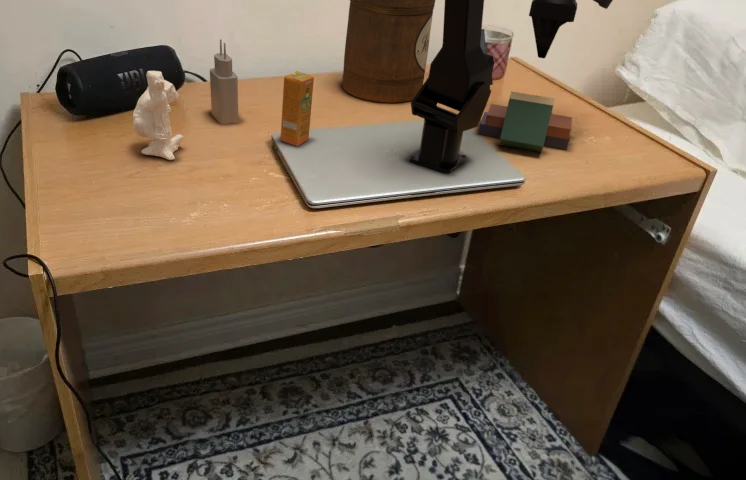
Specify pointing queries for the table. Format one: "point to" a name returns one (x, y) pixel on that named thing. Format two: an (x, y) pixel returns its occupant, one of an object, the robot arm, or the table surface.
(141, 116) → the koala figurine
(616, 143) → the table surface
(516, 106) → the tea box
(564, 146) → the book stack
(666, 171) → the table surface
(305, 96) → the supplement box
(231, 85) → the power adapter
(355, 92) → the wooden container
